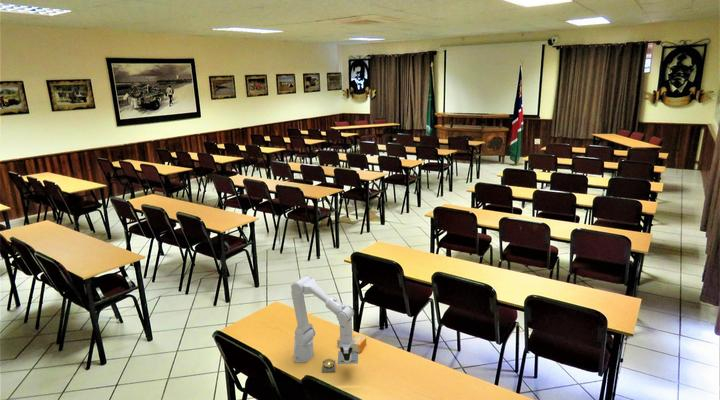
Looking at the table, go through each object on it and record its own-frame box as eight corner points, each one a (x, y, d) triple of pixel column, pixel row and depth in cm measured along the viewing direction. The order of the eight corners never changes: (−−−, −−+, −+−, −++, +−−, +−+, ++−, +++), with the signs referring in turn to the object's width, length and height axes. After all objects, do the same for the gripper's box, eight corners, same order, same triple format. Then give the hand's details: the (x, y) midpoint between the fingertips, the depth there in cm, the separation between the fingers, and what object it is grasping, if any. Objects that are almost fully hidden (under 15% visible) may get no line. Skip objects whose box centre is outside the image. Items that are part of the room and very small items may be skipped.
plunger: (323, 372, 203) (323, 365, 202) (324, 365, 208) (323, 358, 207) (333, 372, 203) (333, 365, 202) (334, 365, 208) (334, 358, 207)
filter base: (337, 365, 209) (337, 362, 208) (338, 352, 218) (338, 350, 218) (358, 365, 209) (358, 362, 208) (358, 352, 218) (357, 349, 218)
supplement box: (359, 344, 214) (336, 339, 220) (360, 353, 215) (336, 348, 221) (366, 337, 222) (343, 332, 227) (366, 345, 223) (344, 340, 228)
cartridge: (342, 362, 199) (342, 353, 197) (342, 356, 202) (342, 347, 201) (351, 362, 199) (351, 353, 197) (351, 356, 202) (351, 347, 201)
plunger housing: (322, 374, 203) (322, 368, 202) (323, 365, 209) (323, 360, 208) (334, 374, 203) (334, 368, 202) (335, 365, 209) (335, 360, 208)
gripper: (354, 341, 189) (355, 367, 193) (354, 322, 203) (355, 347, 207) (338, 341, 189) (339, 367, 193) (340, 323, 203) (341, 347, 207)
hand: (346, 357), depth 200 cm, fingers closed on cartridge, 4 cm apart
